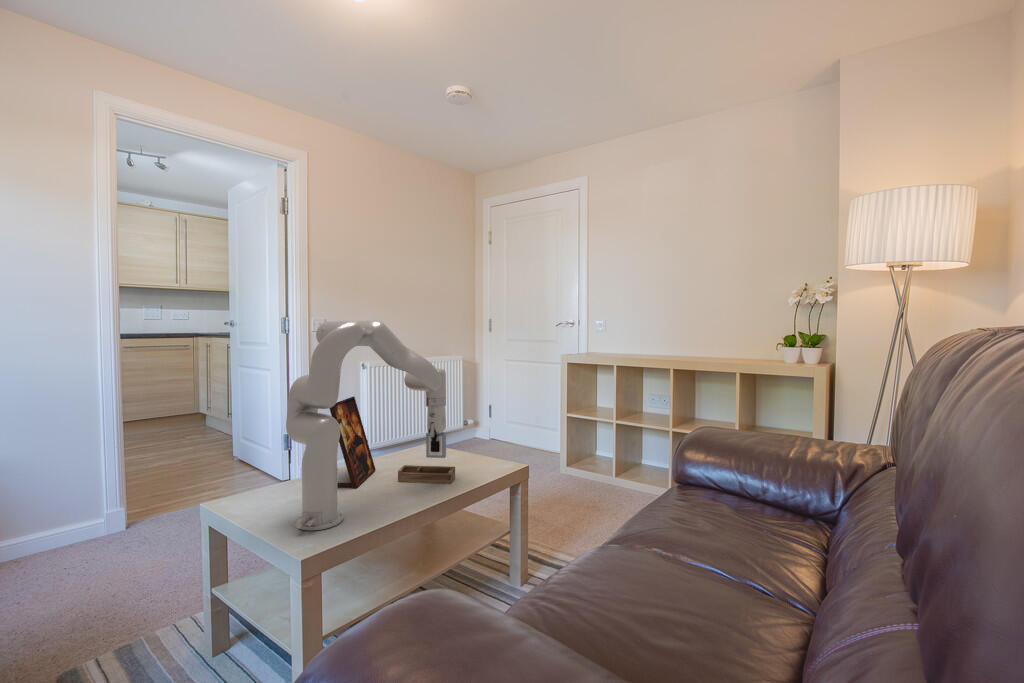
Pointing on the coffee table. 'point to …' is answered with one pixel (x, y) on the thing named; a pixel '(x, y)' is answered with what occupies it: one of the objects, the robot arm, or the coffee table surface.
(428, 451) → the blue frame tile
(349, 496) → the coffee table surface
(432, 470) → the wooden tray box
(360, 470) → the picture frame
